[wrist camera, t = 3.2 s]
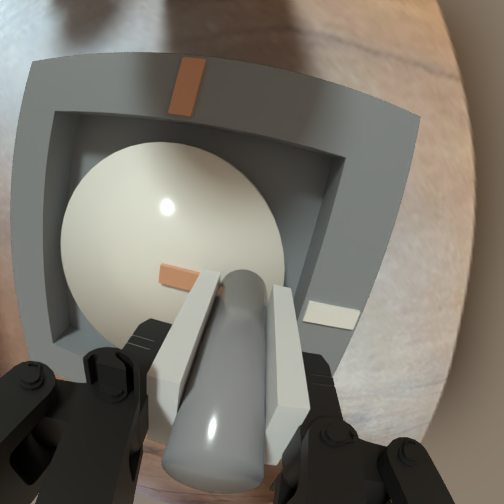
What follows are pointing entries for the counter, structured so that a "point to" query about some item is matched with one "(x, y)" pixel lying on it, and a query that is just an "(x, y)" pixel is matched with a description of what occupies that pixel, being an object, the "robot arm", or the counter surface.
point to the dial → (184, 290)
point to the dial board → (228, 147)
